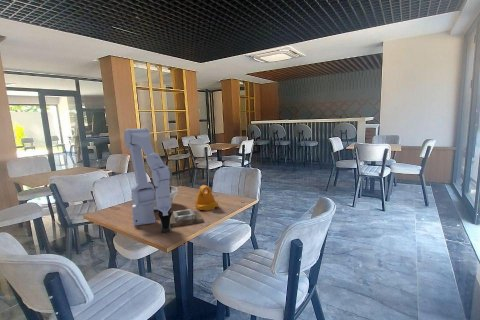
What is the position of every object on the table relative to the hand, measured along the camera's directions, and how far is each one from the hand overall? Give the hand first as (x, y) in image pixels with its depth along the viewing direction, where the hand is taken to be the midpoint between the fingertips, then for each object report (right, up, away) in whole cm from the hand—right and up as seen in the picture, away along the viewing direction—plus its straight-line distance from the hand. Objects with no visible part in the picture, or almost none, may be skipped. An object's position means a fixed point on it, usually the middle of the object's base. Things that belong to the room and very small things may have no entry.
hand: (165, 226), depth 111 cm
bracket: (+14, +2, +29) cm, 33 cm away
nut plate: (+5, 0, +13) cm, 14 cm away
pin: (0, -2, 0) cm, 2 cm away
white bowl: (-15, +2, +33) cm, 36 cm away
